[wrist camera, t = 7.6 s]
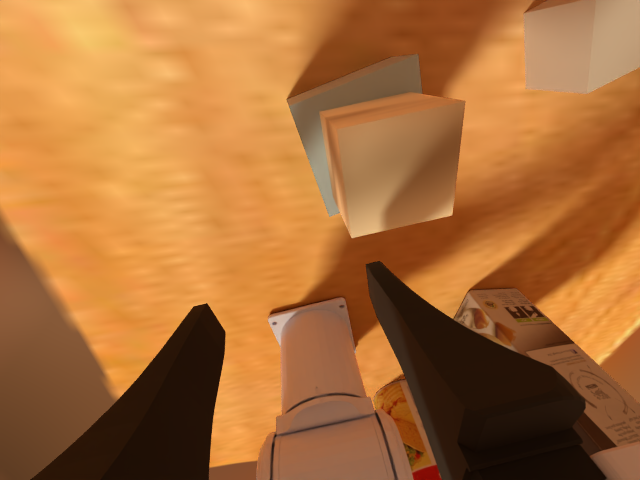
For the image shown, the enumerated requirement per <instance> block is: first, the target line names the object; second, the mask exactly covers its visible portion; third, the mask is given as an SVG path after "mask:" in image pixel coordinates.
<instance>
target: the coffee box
mask: <svg viewBox="0 0 640 480" xmlns="http://www.w3.org/2000/svg"><path fill="white" fill-rule="evenodd" d="M454 320H455V321H457V322H458V323H460V324H462V325H464V326H465V327H467V328H469V329H471V330H473V331H475V332H476V333H478V334H480V335H482V336H484V337H486V338H488V339H490V340H492V341H494V342H496V343H498V344H500V345H502V346H504V347H506V348H508V349H511V350H513V351H515V352H517V353H520V354H522V355H525V356H527V357H530V358H532V359H535V360H537V361H539V362H542V363H544V364H547V365H549V366H552V367H553V368H554V369H555V370H556V371H557V372H559V373H560V374H561V375H562V376H563V377H564V378H565V379H566V380H567V381H568V382H569V383H570V384H571V385H572V386H573V387H574V388H575V389H576V390H577V392H578V393H579V394H580V395H581V396H582V397H583V398H584V399H585V402H586V408H585V410H584V412H583V414H582V415H581V416H580V417H579V419H578V420H577V421H576V422H575V424H574V425H573V426H572V427H573V429H574V430H575V431H576V432H577V433H578V435H579V436H580V437H581V438H582V441H583V443H582V444H580V445H581V447H582V448H583V449H584V450H585V452H586V453H587V454H588V455H589V456H591V455H593V454H595V453H597V452H600V451H603V450H607V449H611V448H615V447H619V446H623V445H627V444H630V443H634V442H640V404H639V403H638V402H637V401H636V400H635V399H634V398H633V397H632V396H631V395H630V394H629V393H628V392H627V391H626V390H624V389H623V388H622V387H621V386H620V385H619V384H618V383H617V382H616V381H615V380H614V379H613V378H612V377H611V376H609V375H608V374H607V373H606V372H605V371H604V370H603V369H602V368H601V367H600V366H599V365H598V364H597V363H596V362H595V361H594V360H592V359H591V358H590V357H589V356H588V355H587V354H586V353H585V352H584V351H583V350H582V349H581V348H580V347H579V346H578V345H576V344H575V343H574V342H573V341H572V340H571V339H570V338H569V337H568V336H567V335H566V334H565V333H564V332H563V331H561V330H560V329H559V328H558V327H557V326H556V325H555V324H554V323H553V322H552V321H551V320H550V319H549V318H548V317H547V316H545V315H544V314H543V313H542V312H541V311H540V310H539V309H538V308H537V307H536V306H535V305H534V304H533V303H532V302H530V301H529V300H528V299H527V298H526V297H525V296H524V295H523V294H522V293H521V292H520V291H519V290H518V289H516V288H512V289H488V290H470V291H469V292H468V293H467V295H466V297H465V299H464V301H463V303H462V305H461V306H460V308H459V310H458V312H457V314H456V316H455V318H454Z"/></svg>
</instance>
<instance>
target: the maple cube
mask: <svg viewBox="0 0 640 480" xmlns="http://www.w3.org/2000/svg"><path fill="white" fill-rule="evenodd" d="M464 109H465V101H462V100H456V99H450V98H444V97H438V96H432V95H426V94H420V93H414V92H407V93H402V94H398V95H393V96H388V97H384V98H379V99H375V100H370V101H365V102H361V103H356V104H352V105H347V106H342V107H338V108H333V109H329V110H324V111H319V115H320V121H321V127H322V133H323V139H324V145H325V152H326V158H327V164H328V170H329V176H330V182H331V188H332V195H333V198H334V200H335V203H336V205H337V207H338V209H339V212H340V214H341V216H342V218H343V220H344V223H345V225H346V227H347V229H348V232H349V234H350V236H351V238H355V237H359V236H364V235H368V234H373V233H377V232H381V231H386V230H390V229H395V228H399V227H403V226H408V225H412V224H417V223H421V222H425V221H430V220H434V219H439V218H443V217H447V216H452V214H453V205H454V196H455V188H456V179H457V170H458V161H459V153H460V144H461V135H462V126H463V118H464Z"/></svg>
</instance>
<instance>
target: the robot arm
mask: <svg viewBox="0 0 640 480" xmlns="http://www.w3.org/2000/svg"><path fill="white" fill-rule="evenodd" d="M366 271H367V279H368V286H369V294H370V298H371V301H372V304H373V307H374V310H375V313H376V315H377V318H378V320H379V322H380V324H381V326H382V328H383V330H384V332H385V334H386V336H387V339H388V341H389V343H390V345H391V347H392V349H393V351H394V353H395V355H396V357H397V359H398V361H399V364H400V366H401V368H402V370H403V373H404V375H405V378H406V381H407V383H408V386H409V389H410V391H411V394H412V397H413V399H414V402H415V405H416V408H417V410H418V413H419V416H420V419H421V421H422V424H423V427H424V430H425V433H426V435H427V438H428V441H429V444H430V447H431V450H432V453H433V455H434V458H435V461H436V464H437V467H438V470H439V473H440V476H441V479H442V480H640V442H634V443H630V444H627V445H623V446H619V447H615V448H611V449H607V450H603V451H600V452H597V453H595V454H593V455H591V456H589V455H588V454H587V453H586V452H585V450H584V449H583V448H582V447H581V445H580V444H582V443H583V441H582V438H581V437H580V436H579V435H578V433H577V432H576V431H575V430H574V429H573V427H572V426H573V425H574V424H575V422H576V421H577V420H578V419H579V417H580V416H581V415H582V414H583V412H584V410H585V408H586V402H585V399H584V398H583V397H582V396H581V395H580V394H579V393H578V392H577V390H576V389H575V388H574V387H573V386H572V385H571V384H570V383H569V382H568V381H567V380H566V379H565V378H564V377H563V376H562V375H561V374H560V373H559V372H557V371H556V370H555V369H554V368H553V367H552V366H549V365H547V364H544V363H542V362H539V361H537V360H535V359H532V358H530V357H527V356H525V355H522V354H520V353H517V352H515V351H513V350H511V349H508V348H506V347H504V346H502V345H500V344H498V343H496V342H494V341H492V340H490V339H488V338H486V337H484V336H482V335H480V334H478V333H476V332H475V331H473V330H471V329H469V328H467V327H465V326H464V325H462V324H460V323H458V322H457V321H455V320H453V319H452V318H450V317H449V316H447V315H446V314H444V313H442V312H441V311H439V310H438V309H436V308H435V307H434V306H432V305H431V304H429V303H428V302H427V301H425V300H424V299H423V298H421V297H420V296H419V295H417V294H416V293H415V292H414V291H412V290H411V289H410V288H409V287H408V286H406V285H405V284H404V283H403V282H402V281H400V280H399V279H398V278H397V277H396V276H395V275H394V274H393V273H392V272H391V271H390V270H389V269H388V268H387V267H386V266H385V265H384V264H383V263H382V262H380V261H377V262H373V263H369V264H366ZM340 305H342V306H340ZM268 322H269V324H270V326H271V328H272V330H273V333H274V335H275V337H276V339H277V341H278V343H279V345H280V347H281V403H282V415H281V416H277V417H276V432H272V433H270V434H268V436H267V437H266V440H265V442H264V443H263V445H262V447H261V449H260V453H259V457H258V464H257V476H256V477H257V478H256V480H414V479H413V475H412V471H411V468H410V464H409V461H408V457H407V454H406V451H405V448H404V445H403V442H402V439H401V436H400V434H399V431H398V429H397V426H396V424H395V422H394V420H393V419H392V417H391V416H389V415H388V414H387V413H385V411H384V410H383V409H377V410H375V411H374V408H373V404H372V401H371V398H370V397H367V396H366V392H365V389H364V385H363V382H362V378H361V374H360V371H359V367H358V364H357V360H356V356H355V353H356V349H355V344H354V339H353V334H352V329H351V324H350V320H349V315H348V310H347V305H346V301H345V298H343V297H339V298H335V299H331V300H327V301H323V302H319V303H315V304H311V305H307V306H303V307H299V308H295V309H291V310H287V311H283V312H279V313H275V314H271V315H269V316H268ZM224 352H225V331H224V329H223V327H222V326H221V324H220V323H219V321H218V320H217V318H216V316H215V315H214V313H213V312H212V310H211V309H210V307H209V305H208V304H207V303H206V304H202V305H198V306H194V307H193V308H192V309H191V311H190V312H189V313H188V315H187V316H186V317H185V319H184V320H183V321H182V323H181V324H180V325H179V327H178V328H177V329H176V331H175V332H174V333H173V335H172V336H171V337H170V339H169V340H168V341H167V343H166V344H165V345H164V347H163V348H162V349H161V350H160V352H159V353H158V354H157V355H156V357H155V358H154V359H153V360H152V362H151V363H150V364H149V365H148V366H147V368H146V369H145V370H144V371H143V373H142V374H141V375H140V376H139V377H138V379H137V380H136V381H135V382H134V383H133V384H132V385H131V386H130V388H129V389H128V390H127V391H126V392H125V393H124V394H123V395H122V396H121V397H120V398H119V399H118V400H117V401H116V402H115V404H114V405H113V406H112V407H111V408H110V409H109V410H108V411H107V412H106V413H104V414H103V415H102V416H101V417H100V418H99V419H98V420H97V421H96V422H95V423H94V424H93V425H92V426H91V427H90V428H89V429H88V430H87V431H86V432H85V433H84V434H83V435H82V436H81V437H79V438H78V439H77V440H76V441H75V442H74V443H73V444H72V445H71V446H70V447H69V448H67V449H66V450H65V451H64V452H63V453H62V454H61V455H59V456H58V457H57V458H56V459H55V460H54V461H52V462H51V463H50V464H49V465H48V466H47V467H46V468H44V469H43V470H42V471H41V472H39V473H38V474H37V475H36V476H35V477H34V478H32V479H31V480H209V462H210V446H211V434H212V423H213V415H214V408H215V402H216V397H217V392H218V387H219V381H220V376H221V371H222V365H223V359H224Z"/></svg>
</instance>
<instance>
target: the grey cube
mask: <svg viewBox="0 0 640 480" xmlns="http://www.w3.org/2000/svg"><path fill="white" fill-rule="evenodd" d="M524 43H525V77H526V89H533V90H546V91H558V92H570V93H583V94H588V93H590V92H592V91H594V90H596V89H598V88H600V87H602V86H604V85H606V84H608V83H610V82H612V81H614V80H616V79H618V78H620V77H622V76H624V75H626V74H628V73H630V72H631V71H633V70H635V69H637V68H639V67H640V0H546V1H545V2H543V3H541V4H539V5H538V6H536V7H534V8H532V9H531V10H529V11H527V12H525V13H524Z"/></svg>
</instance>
